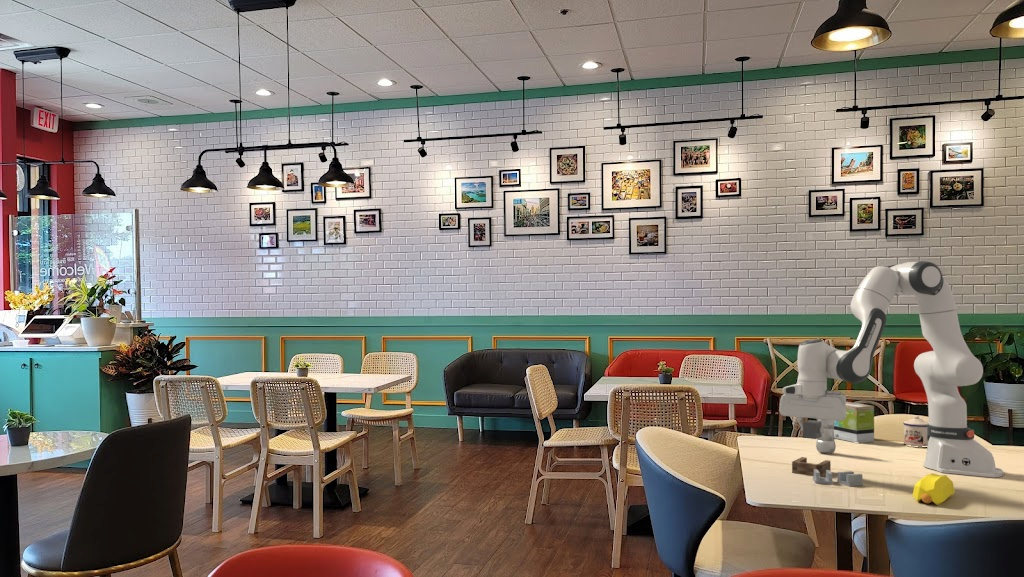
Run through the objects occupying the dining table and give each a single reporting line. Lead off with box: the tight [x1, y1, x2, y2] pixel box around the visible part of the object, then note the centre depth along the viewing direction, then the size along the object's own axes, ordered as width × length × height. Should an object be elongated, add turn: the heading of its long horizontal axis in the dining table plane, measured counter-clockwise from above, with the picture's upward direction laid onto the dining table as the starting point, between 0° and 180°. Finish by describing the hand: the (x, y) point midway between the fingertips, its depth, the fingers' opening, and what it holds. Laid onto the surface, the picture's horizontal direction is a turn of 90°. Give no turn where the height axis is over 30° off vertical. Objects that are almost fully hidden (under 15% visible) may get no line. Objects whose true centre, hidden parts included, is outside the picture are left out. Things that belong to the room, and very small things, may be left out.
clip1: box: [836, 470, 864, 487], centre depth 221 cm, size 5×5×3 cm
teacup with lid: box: [903, 415, 929, 447], centre depth 285 cm, size 12×9×12 cm
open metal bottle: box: [815, 419, 837, 455], centre depth 269 cm, size 6×7×20 cm
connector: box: [802, 419, 822, 440], centre depth 238 cm, size 4×10×5 cm, turn 141°
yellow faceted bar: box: [912, 473, 956, 506], centre depth 203 cm, size 18×7×8 cm
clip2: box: [812, 469, 834, 485], centre depth 223 cm, size 5×5×3 cm
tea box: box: [834, 401, 875, 443], centre depth 299 cm, size 15×10×15 cm
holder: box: [791, 456, 832, 478], centre depth 236 cm, size 9×10×4 cm
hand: (812, 432), depth 237 cm, fingers closed on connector, 4 cm apart
